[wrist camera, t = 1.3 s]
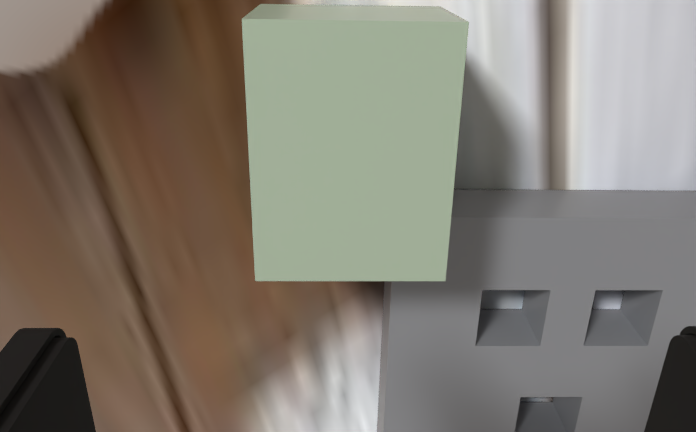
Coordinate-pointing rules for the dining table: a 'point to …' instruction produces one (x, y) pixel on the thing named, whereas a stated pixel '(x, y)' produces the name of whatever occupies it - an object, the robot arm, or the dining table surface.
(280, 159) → the plug
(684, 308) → the socket plate
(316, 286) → the dining table surface
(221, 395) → the dining table surface
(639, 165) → the dining table surface
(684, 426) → the robot arm
